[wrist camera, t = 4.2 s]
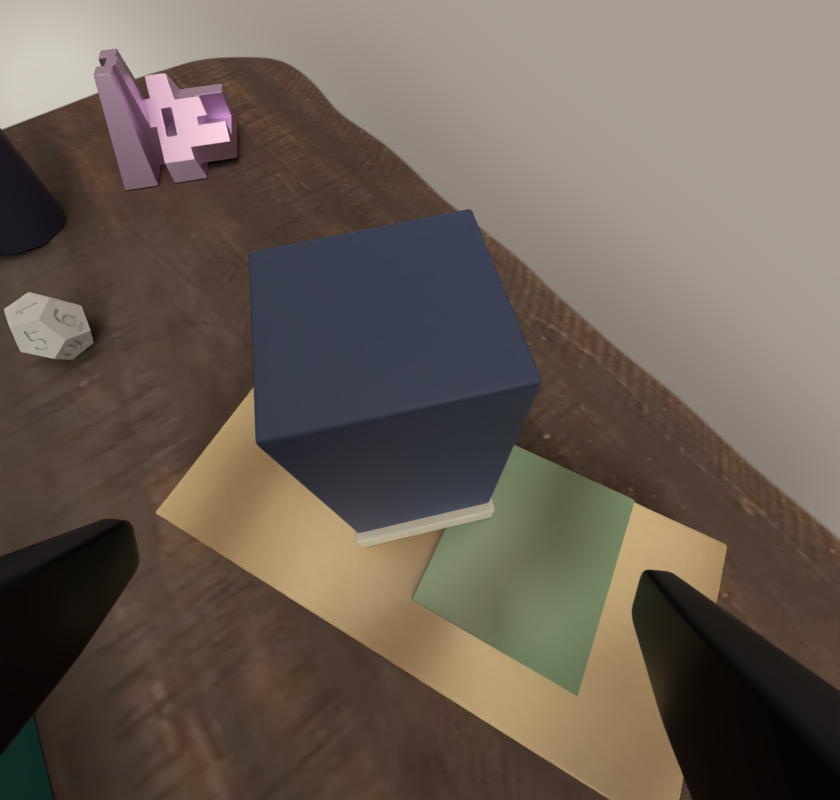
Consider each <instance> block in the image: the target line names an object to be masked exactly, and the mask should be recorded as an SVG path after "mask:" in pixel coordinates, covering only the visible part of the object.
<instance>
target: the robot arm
mask: <svg viewBox="0 0 840 800" xmlns="http://www.w3.org/2000/svg"><path fill="white" fill-rule="evenodd" d="M139 560H140V557H139V552H138V547H137V543H136V538H135V534H134V529H133V526H132V525H131V523H130V522H128V521H126V520H118V519H102V520H99V521H97V522H94V523H91V524H88V525H86V526H83V527H80V528H77V529H75V530H72V531H69V532H66V533H64V534H61V535H58V536H55V537H53V538H50V539H47V540H44V541H42V542H39V543H36V544H33V545H31V546H28V547H25V548H22V549H20V550H17V551H14V552H12V553H9V554H6V555H3V556H1V557H0V757H1V755H2V754H3V753H4V752H5V750H6V749H7V748H8V747H9V745H10V744H11V743H12V741H13V740H14V739H15V738H16V736H17V735H18V734H19V733H20V731H21V730H22V729H23V727H24V726H25V725H26V724H27V722H28V721H29V720H30V719H31V717H32V716H33V715H34V714H35V712H36V711H37V710H38V708H39V707H40V706H41V705H42V703H43V702H44V701H45V700H46V698H47V697H48V696H49V694H50V693H51V692H52V691H53V689H54V688H55V687H56V686H57V684H58V683H59V682H60V680H61V679H62V678H63V677H64V675H65V674H66V673H67V672H68V670H69V669H70V668H71V666H72V665H73V664H74V662H75V661H76V660H77V658H78V657H79V656H80V654H81V653H82V651H83V650H84V648H85V647H86V646H87V644H88V643H89V641H90V640H91V638H92V637H93V635H94V634H95V632H96V631H97V629H98V628H99V626H100V625H101V623H102V622H103V620H104V619H105V617H106V616H107V614H108V613H109V611H110V610H111V608H112V607H113V605H114V604H115V602H116V601H117V599H118V598H119V596H120V595H121V593H122V592H123V590H124V589H125V587H126V586H127V584H128V583H129V581H130V580H131V578H132V577H133V575H134V574H135V572H136V570H137V568H138V565H139ZM632 621H633V625H634V628H635V632H636V635H637V639H638V642H639V645H640V649H641V652H642V656H643V659H644V662H645V666H646V669H647V673H648V676H649V679H650V683H651V686H652V690H653V693H654V696H655V700H656V703H657V707H658V710H659V713H660V716H661V719H662V722H663V725H664V728H665V731H666V733H667V736H668V739H669V741H670V744H671V747H672V749H673V752H674V754H675V757H676V759H677V762H678V764H679V767H680V769H681V772H682V774H683V777H684V779H685V782H686V785H687V787H688V790H689V792H690V795H691V797H692V800H840V691H839V690H838V689H837V688H835V687H834V686H832V685H831V684H829V683H828V682H827V681H825V680H824V679H822V678H821V677H820V676H818V675H817V674H815V673H814V672H812V671H811V670H810V669H808V668H807V667H805V666H804V665H803V664H801V663H800V662H798V661H797V660H795V659H794V658H793V657H791V656H790V655H788V654H787V653H786V652H784V651H783V650H781V649H780V648H779V647H777V646H776V645H774V644H773V643H771V642H770V641H769V640H767V639H766V638H764V637H763V636H762V635H760V634H759V633H757V632H756V631H754V630H753V629H752V628H750V627H749V626H747V625H746V624H745V623H743V622H742V621H740V620H739V619H737V618H736V617H735V616H733V615H732V614H730V613H729V612H728V611H726V610H725V609H723V608H722V607H721V606H719V605H718V604H716V603H715V602H713V601H712V600H711V599H709V598H708V597H706V596H705V595H704V594H702V593H701V592H699V591H698V590H696V589H695V588H694V587H692V586H691V585H689V584H688V583H687V582H685V581H684V580H682V579H681V578H679V577H678V576H677V575H675V574H674V573H672V572H669V571H661V570H650V569H648V570H645V571H643V572H642V574H641V576H640V579H639V583H638V587H637V590H636V594H635V598H634V601H633V605H632Z"/></svg>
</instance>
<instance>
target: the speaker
mask: <svg viewBox="0 0 840 800" xmlns="http://www.w3.org/2000/svg"><path fill="white" fill-rule="evenodd" d="M65 220H66V217H65V216H64V214H63V212H62V210H61V208H60V206H59V204H58V202H57V201H56V200H55V199H54V197H53V196H52V195H51V193H50V192H49V191H48V190H47V188H46V187H45V186H44V184H43V183H42V182H41V180H40V179H39V178H38V177H37V175H36V174H35V173H34V171H33V170H32V169H31V168H30V166H29V165H28V164H27V162H26V161H25V160H24V159H23V157H22V156H21V155H20V153H19V152H18V151H17V149H16V148H15V147H14V146H13V144H12V143H11V142H10V140H9V139H8V138H7V137H6V135H5V134H4V133H3V131H2V130H1V129H0V255H13V254H16V253H19V252H23V251H26V250H29V249H32V248H36V247H39V246H42V245H44V244H45V243H47V242H48V241H49V240H50V239H51V238H52V237H53V236H54V235H56V234H57V233H58V232H59V231H60V230H61V229H62V228H63V227H64V223H65Z"/></svg>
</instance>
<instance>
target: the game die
mask: <svg viewBox="0 0 840 800" xmlns="http://www.w3.org/2000/svg"><path fill="white" fill-rule="evenodd" d="M4 312H5V315H6V318H7V321H8V324H9V327H10V330H11V332H12V334H13V336H14V339H15V341H16V343H17V345H18V348H19V350H20V352H24V353H29V354H33V355H38V356H43V357H47V358H52V359H69V360H73V359H74V358H75V357H77V356H78V355H79V354H80V353H82V352H83V351H84V350H85V349H87V348H88V347H89V346H90V345H92V344H93V343H94V342H93V338H92V334H91V330H90V328H89V325H88V322H87V319H86V317H85V314H84V311H83V309H82V306H81V305H78V304H74V303H70V302H67V301H63V300H59V299H55V298H51V297H48V296H43V295H39V294H35V293H31V292H28V293H27V294H25V295H24V296H22V297H21V298H19V299H18V300H17V301H15V302H14V303H12V304H11V305H9V306H8V307H6V308H5V309H4Z"/></svg>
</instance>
